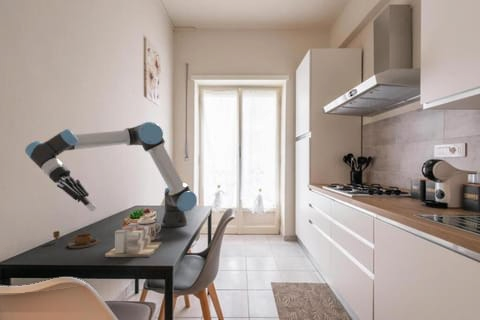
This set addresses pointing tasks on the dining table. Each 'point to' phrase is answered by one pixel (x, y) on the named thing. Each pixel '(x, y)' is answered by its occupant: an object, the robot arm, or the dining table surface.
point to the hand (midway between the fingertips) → (94, 209)
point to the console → (138, 244)
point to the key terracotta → (128, 229)
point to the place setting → (79, 240)
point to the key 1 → (120, 241)
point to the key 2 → (134, 225)
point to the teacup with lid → (149, 222)
